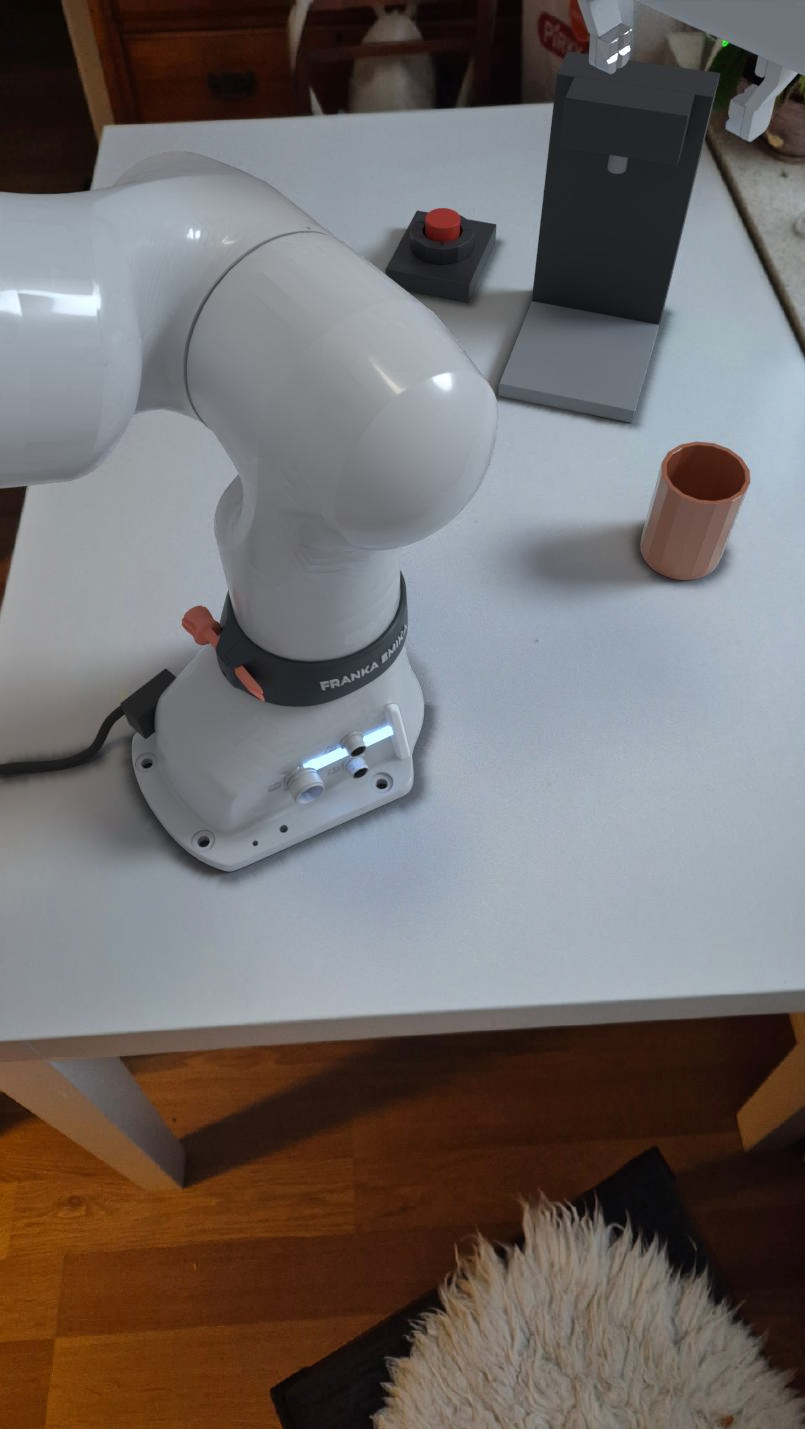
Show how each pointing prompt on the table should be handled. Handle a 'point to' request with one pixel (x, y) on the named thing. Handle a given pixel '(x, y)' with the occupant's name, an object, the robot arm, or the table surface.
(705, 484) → the cup
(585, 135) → the coffee maker
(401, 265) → the control block
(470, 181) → the table surface
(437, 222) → the button
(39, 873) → the table surface
